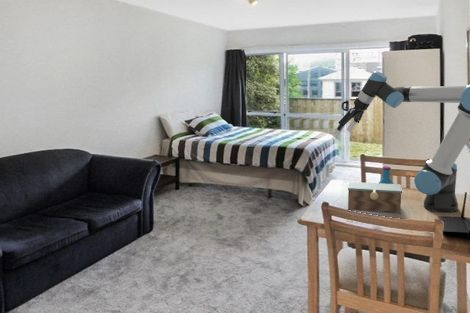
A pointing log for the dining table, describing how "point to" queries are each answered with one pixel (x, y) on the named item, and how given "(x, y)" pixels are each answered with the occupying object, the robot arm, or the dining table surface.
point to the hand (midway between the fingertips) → (342, 132)
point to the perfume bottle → (386, 176)
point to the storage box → (374, 201)
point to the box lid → (375, 188)
